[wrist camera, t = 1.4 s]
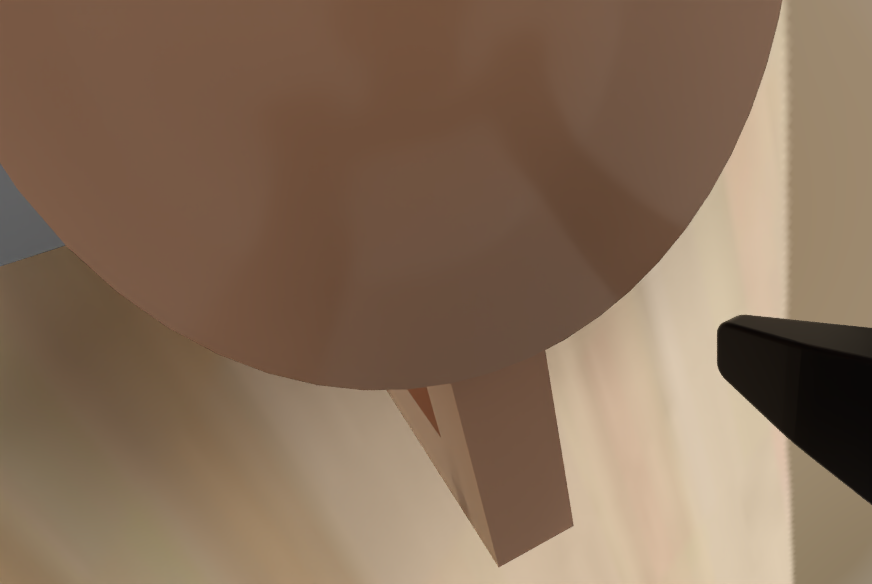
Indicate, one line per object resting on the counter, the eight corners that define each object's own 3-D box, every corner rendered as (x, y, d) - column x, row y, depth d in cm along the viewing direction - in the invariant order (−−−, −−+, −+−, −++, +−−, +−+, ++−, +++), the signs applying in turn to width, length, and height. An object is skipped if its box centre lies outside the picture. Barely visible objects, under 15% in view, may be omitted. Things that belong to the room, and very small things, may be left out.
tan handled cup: (245, 364, 14) (329, 735, 6) (23, -124, 10) (-599, -863, 2) (475, 272, 16) (763, 478, 8) (379, -182, 11) (824, -700, 4)
